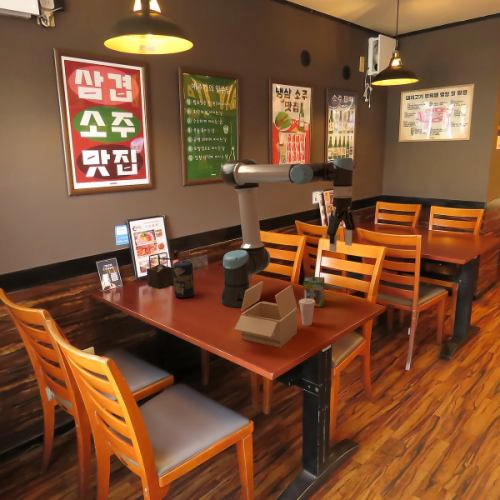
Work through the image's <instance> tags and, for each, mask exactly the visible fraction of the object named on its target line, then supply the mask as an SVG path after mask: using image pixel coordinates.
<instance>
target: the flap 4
mask: <svg viewBox="0 0 500 500" xmlns="http://www.w3.org/2000/svg"><path fill="white" fill-rule="evenodd" d="M261 302H262V303H268V304H274V305H277V303H276V302H275V303H274V302H269V301H261ZM295 308H297V313H301V309H300V308H298V306H297V307H295Z"/></svg>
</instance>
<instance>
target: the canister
mask: <svg viewBox="0 0 500 500" xmlns="http://www.w3.org/2000/svg"><path fill="white" fill-rule="evenodd" d="M193 265H194V264H193V262H192V261H190V260H178V261H175V262H173V264H172V268H173V275H174V284H173V286H174V287H173V288H174V295H175V297H177V298H180V299H181V298H182V299H184V298H190V297H192V296H194V295H195V281H194V266H193Z"/></svg>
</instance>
